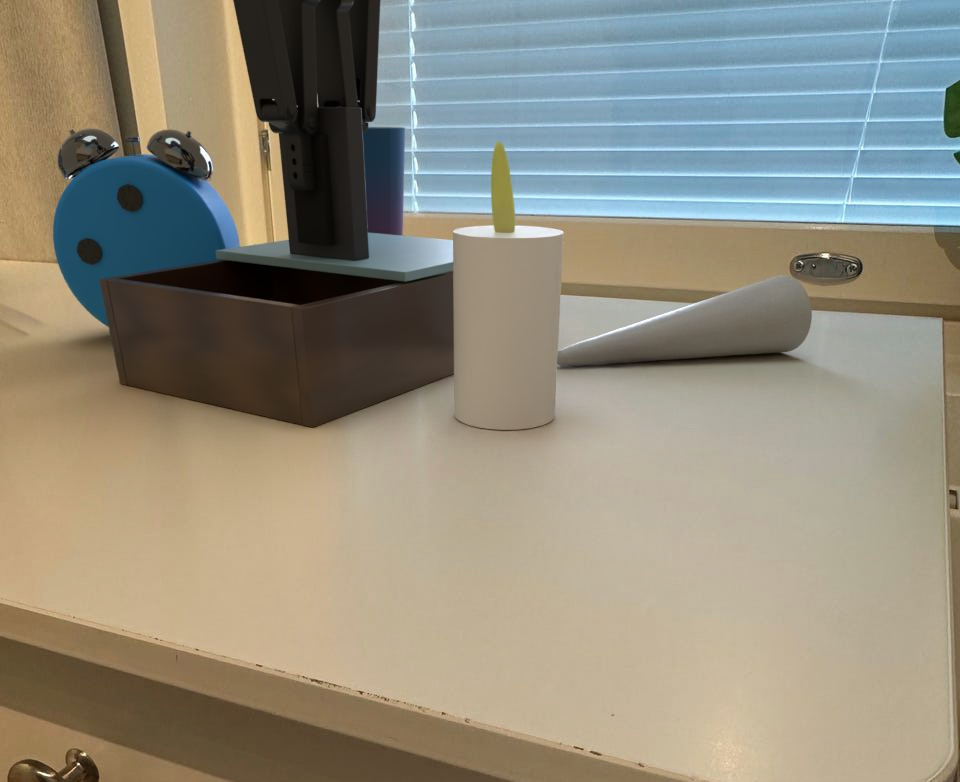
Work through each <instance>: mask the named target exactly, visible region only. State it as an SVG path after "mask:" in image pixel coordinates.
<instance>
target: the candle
mask: <svg viewBox="0 0 960 782" xmlns="http://www.w3.org/2000/svg"><path fill="white" fill-rule="evenodd" d="M491 160H492V161H491V172H490V173H491V175H490V177H491V178H490V197H491V199H490V200H491V215H492V216H491V217H492V222H493V225H492V224H491V225H475V226H465V227H459V228H455V229H454V230H453V231H452V240H453V310H454V374H453V414H454V417H455V419H456V420H458V421H459V422H460V423H462V424H464V425H468V426H470V427H471V426H472V427H475V428H481V429H487V430H497V431H498V430H499V431H514V430H525V429H533V428H537V427H542V426H544V425H546V424H549V423H551V422H552V421H553V420H554V419H555V412H556V395H557V394H556V393H557V377H558V365H557V357H558V351H559V338H560V337H559V335H560V334H559V333H560V317H561V315H560V314H561V296H562V278H563V275H562V274H563V260H564V259H563V256H564V241H565V239H564V238H565V232H564V231H563V230H561V229H557V228H551V227H545V226H535V225H516V212H515V211H516V210H515V200H514V189H513V184H512V175H511V170H510V165H509V160H508V155H507V153H506V149H505V147H504V144H503V143H502V142H501V141H500V140H498V141H497V142H496V144H495V146H494V149H493V153H492V159H491Z"/></svg>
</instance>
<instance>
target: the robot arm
mask: <svg viewBox="0 0 960 782" xmlns="http://www.w3.org/2000/svg"><path fill="white" fill-rule="evenodd" d="M232 2H233V7H234V10H235V16H236V21H237V26H238V30H239V36H240V41H241V46H242V51H243V54H244V60H245V66H246V70H247V75H248V81H249V84H250V85H249V86H250V91H251V95H252V100H253V106H254V110H255V114H256V117H257V119H258V120H259V121H260V122H262V123H268V127H269V129H270V131H271V133H274V134H279V133H281V134H283V136H284V141H285V151H286V162H287V170H288V172H287V173H288V182H289V185H290V188H291V190H294V199H295V210H296V221H297V232H298V243H307V244H316V245H326V246H330V245H335V233H334V219H333V204H332V190H331V175H330V161H329V147H328V136H327V135H313V134H315V133H316V131H317V129H318V108H317V107H360V108H361V110H362V129H363V134H364V133H366V132H367V130H368V127H369V123H372V122H374V121H375V119H376V114H377V95H378V93H377V92H378V72H379V71H378V70H379V69H378V67H379V48H380V47H379V45H380V43H379V42H380V22H381V21H380V20H381V19H380V18H381V0H232Z"/></svg>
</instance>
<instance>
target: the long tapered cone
mask: <svg viewBox="0 0 960 782" xmlns="http://www.w3.org/2000/svg"><path fill="white" fill-rule="evenodd" d="M812 318H813V311H812V304H811V300H810V296H809V295H808V292H807V291H806V288H805V287H804V286H803V285H802V283H801V282H800V281H799V280H797V279H796V278H795V277H793V276H789V275H786V274H785V275H784V274H779V275H775V276H773V277H769V278H766V279H763V280H761V281H757V282H755V283H751V284H747V285H745V286H743V287H740V288H738V289H735V290H731V291H728V292H725V293H722V294H720V295H716V296H713V297H710V298H707V299H704V300H701V301H698V302H695V303H693V304H689V305H687V306H686V305H685V306H684V307H681V308H677V309H675V310H672V311H668V312H666V313H662V314H660V315H656V316H654V317H651V318H648V319H645V320H641V321H639V322H636V323H633V324H630V325H627V326H624V327H620V328H617V329H615V330H612V331H609V332H606V333H603V334H599V335H596V336H594V337H592V338H587V339H584V340H582V341H579V342H576V343H573V344H570V345H567V346H565V347H563V348H561V349H558V357H557V366H562V367H573V366H574V367H576V366H577V367H578V366H581V367H582V366H592V365H593V366H595V365H608V364H609V365H611V364H623V363H625V364H626V363H638V362H639V363H640V362H655V361H668V360H684V359H686V360H687V359H698V358H700V359H701V358H715V357H730V356H731V357H732V356H745V355H763V354H765V355H766V354H778V353H789V352H792V351H794V350H797V348H799V347H800V346H801V345H802V344H803V343H804V342H805V340H806V339H807V337H808V335H809V333H810V330H811V325H812V320H813V319H812Z"/></svg>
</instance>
